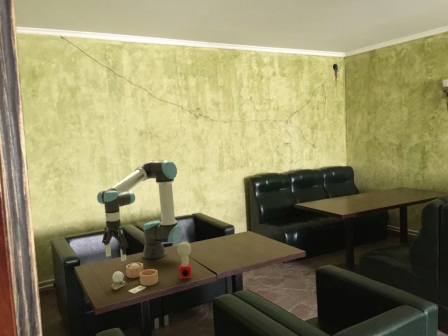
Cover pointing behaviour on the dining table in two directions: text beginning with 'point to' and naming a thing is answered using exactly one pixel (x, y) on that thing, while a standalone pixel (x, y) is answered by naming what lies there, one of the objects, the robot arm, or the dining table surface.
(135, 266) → the ball sage
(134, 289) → the card
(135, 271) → the cup
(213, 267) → the dining table surface
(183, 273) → the toy
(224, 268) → the dining table surface
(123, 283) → the cradle
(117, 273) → the ball grey
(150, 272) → the cup
